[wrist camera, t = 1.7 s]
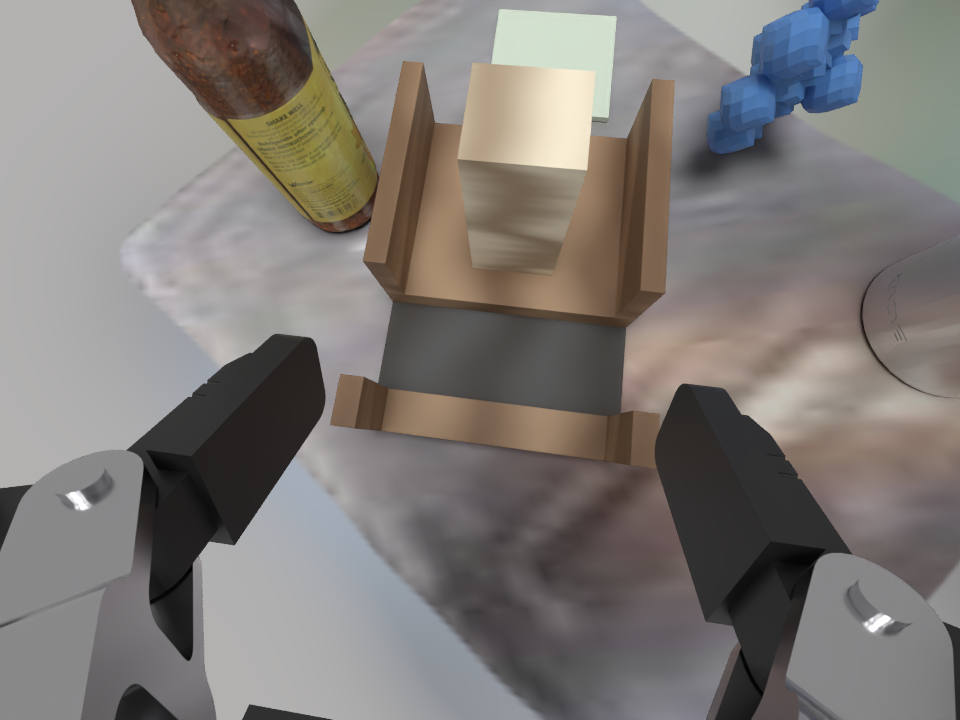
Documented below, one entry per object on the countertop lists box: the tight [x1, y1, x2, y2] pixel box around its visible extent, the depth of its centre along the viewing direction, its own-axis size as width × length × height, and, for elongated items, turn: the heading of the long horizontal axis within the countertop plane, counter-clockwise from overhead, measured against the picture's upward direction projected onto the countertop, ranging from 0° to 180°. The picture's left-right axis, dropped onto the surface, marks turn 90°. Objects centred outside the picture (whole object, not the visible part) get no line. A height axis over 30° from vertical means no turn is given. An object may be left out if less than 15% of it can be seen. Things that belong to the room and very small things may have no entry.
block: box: [457, 63, 596, 276], centre depth 21 cm, size 5×4×10 cm
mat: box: [491, 9, 617, 122], centre depth 30 cm, size 9×9×1 cm
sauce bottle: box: [131, 0, 379, 232], centre depth 19 cm, size 6×6×20 cm
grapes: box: [707, 0, 879, 154], centre depth 23 cm, size 12×7×12 cm, turn 137°
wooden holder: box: [330, 61, 675, 469], centre depth 24 cm, size 15×21×6 cm
